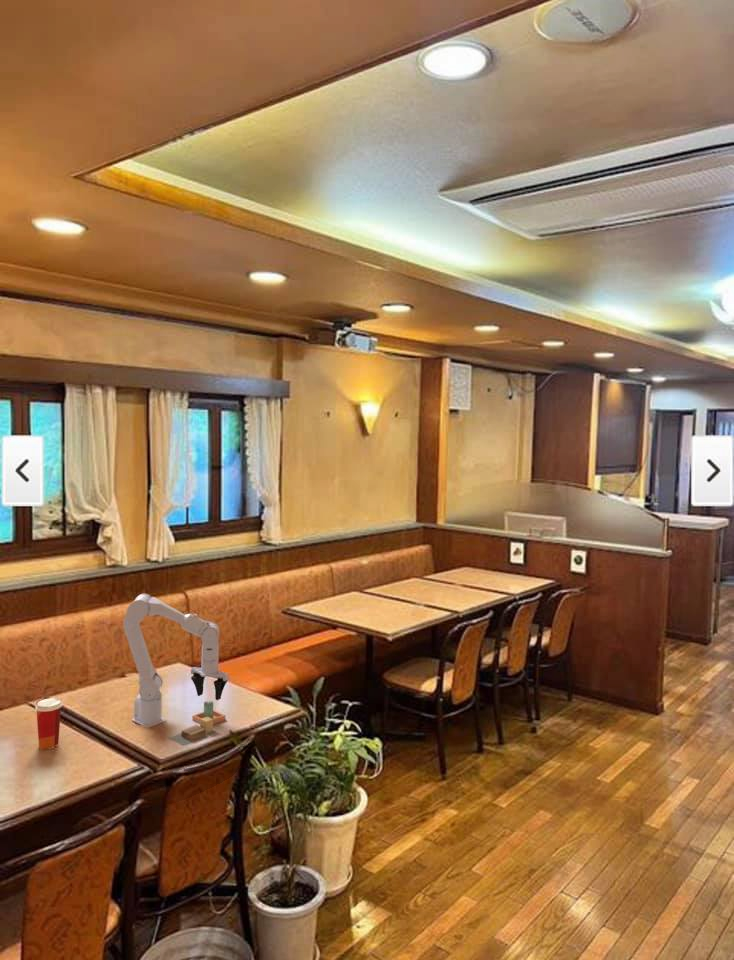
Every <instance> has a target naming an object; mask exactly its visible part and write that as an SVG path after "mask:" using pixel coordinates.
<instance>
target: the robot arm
mask: <svg viewBox="0 0 734 960" xmlns="http://www.w3.org/2000/svg"><path fill="white" fill-rule="evenodd" d="M147 615H148V617H152V616H157V615H159V616H162V617H164V618H166V619H169V620H171V621H174V622H176V623H178V624H180V626H181V629H183V630H184V631H186V632H188V633H190V634H192V635H194V636H197V637H198V638H200V639H201V641H202V646H201V667H196V666H193V667H191V668H190V674H191V675H192V676H191V677H190V678H191V680H192V683H193V684H194V687H195V690H196V695H197V696H198V697H199V696H202V695H204V694H203V693H204V684H205V683H204V682H205V678H213V679H216V680H214V681H213V685H214V689H215V691H214V694H215V695H214V696H215V697H214V698H215V701H219V700H221V698H222V696H223V691H224V688H225V686H226V684H227V683H228V681H229V680H230V679H229V675H230V674H229V673H226V672H224V671H221V670H219V651H220V650H219V649H220V646H219V636H220V629H221V628H220V626H219V625H218V623H215V622H214V621H210V620H204V619H203V618H201V617H198V614H196V613H193V614H192V613H187V614H184V613H183V612H181V611H180V610H177V609H176V608H174V607H172V606H170V605H169V604H166V603H165V602H164V601H162V600H160V599H158V598H157V597H154V596H151V595H150V594H148V593H141V594H139V595H137V596H136V597H135V599H134V600H133V601H132V602H131V603H130V604H129V606H128V607H127V608H126V612H125V616H124V620H123V623H122V627H123V629H124V634H125V636H126V639H127V643H128V645H129V648H130V652H131V654H132V655H131V656H132V657H133V661H134V664H135V666H136V670H137V673H138V686H139V689H138V693H139V694H137V696H136V697H135V699H134V701H133V716H134V717H133V718H132V719H131V721H132V722H133V723H136V724H138V725H140V726H143V727H144V728H147V729H148V728H151V727H153V726H157V725H159V724H162V723H164V722H167V721H168V720H167V719H166V718H164V717H162V705H163V704H162V703H163V702H162V701H163V697H162V696H163V695H162V692H161V691H160V689H161V688H162V686H163V682H164V681H163V678H162V677H161V675H160V674H159V673H158V672H157V669H156V668H155V667H154V665H153V663H152V660H151V656H150V653H149V650H148V646H147V644H146V641H145V638H144V634H143V632H142V629H141V625H140V623H141V622H142V620H143V619H144V618H145V617H146V616H147Z"/></svg>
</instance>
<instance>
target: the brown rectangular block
mask: <svg viewBox="0 0 734 960" xmlns="http://www.w3.org/2000/svg"><path fill="white" fill-rule="evenodd" d="M180 732H181V733H180V734H181V736H182V737H184V738H186V739H188V740H190V741H192V740H195V739H197V738H200V737H202V736H205V735H206V729H204V728H202V727H200V725H198V724H195V725H193V726H190V727H188V728H185V729H182V730H181V731H180Z"/></svg>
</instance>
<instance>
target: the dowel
mask: <svg viewBox="0 0 734 960" xmlns="http://www.w3.org/2000/svg"><path fill="white" fill-rule="evenodd" d="M213 710H214V701H212V700H206V701H204V702H203V712H204V718H205V717H210V718H212V719H213Z"/></svg>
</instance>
